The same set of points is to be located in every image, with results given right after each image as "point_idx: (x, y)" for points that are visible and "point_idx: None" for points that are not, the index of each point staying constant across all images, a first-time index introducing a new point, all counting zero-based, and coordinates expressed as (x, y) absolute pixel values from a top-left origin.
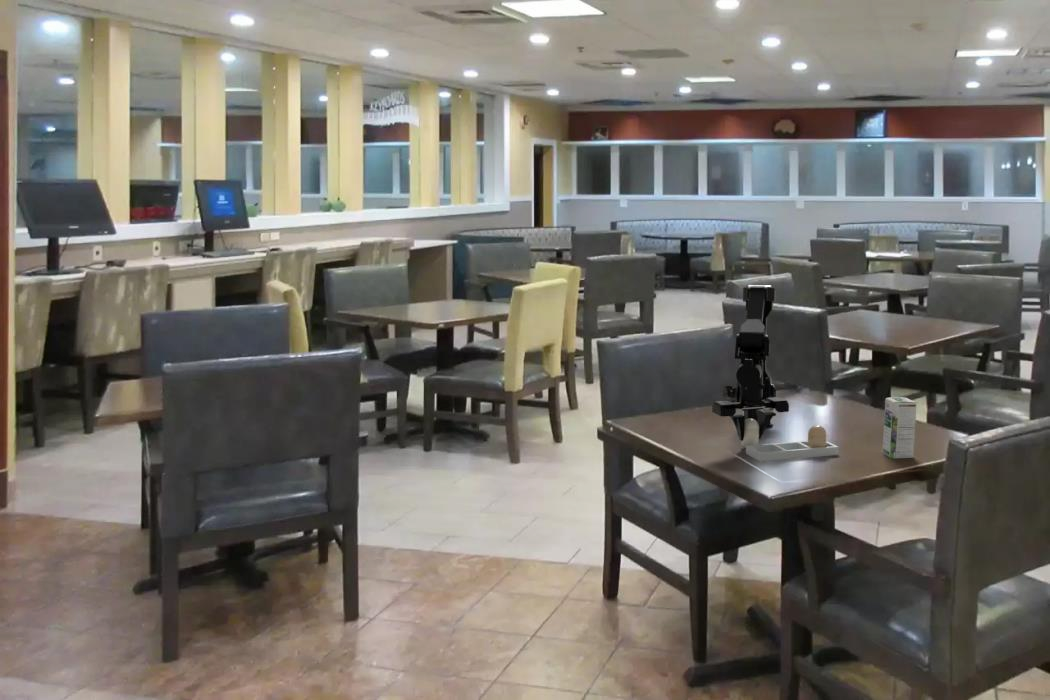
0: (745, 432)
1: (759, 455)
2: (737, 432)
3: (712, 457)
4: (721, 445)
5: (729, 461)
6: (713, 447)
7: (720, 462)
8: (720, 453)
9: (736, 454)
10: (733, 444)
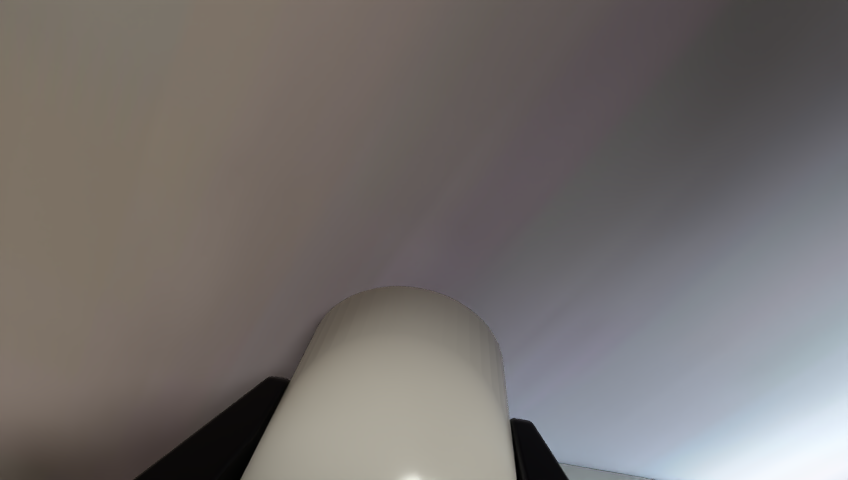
0: None
1: None
2: (183, 447)
3: (18, 351)
4: (213, 12)
5: (125, 462)
6: (87, 60)
7: (58, 453)
8: (110, 291)
9: (238, 368)
10: (386, 37)
